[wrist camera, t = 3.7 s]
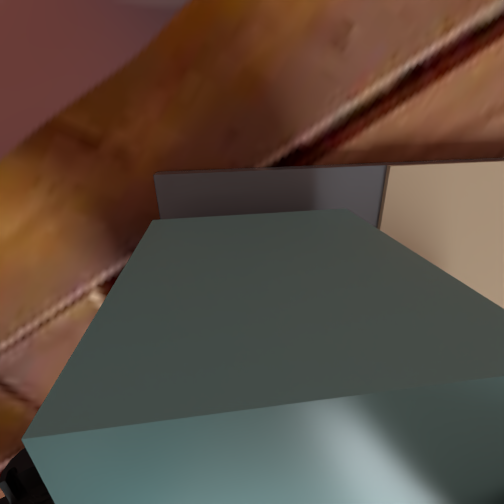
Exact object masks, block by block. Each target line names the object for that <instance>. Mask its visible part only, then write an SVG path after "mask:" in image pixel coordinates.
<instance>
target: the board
mask: <svg viewBox="0 0 504 504" xmlns="http://www.w3.org/2000/svg"><path fill="white" fill-rule="evenodd" d="M153 176H154V183H155V189H156V195H157V201H158V208H159V214H160V220H161V219H177V218H194V217H211V216H227V215H244V214H261V213H278V212H294V211H311V210H328V209H345V208H346V209H347V210H349V211H351V212H352V213H354V214H355V215H357V216H358V217H360V218H362V219H363V220H365V221H366V222H368V223H369V224H371V225H373V226H374V227H376V228H377V229H379V230H380V231H382V232H384V233H385V234H387V235H388V236H390V237H391V238H393V239H395V240H396V241H398V242H399V243H401V244H402V245H404V246H406V247H407V248H409V249H410V250H412V251H413V252H415V253H417V254H418V255H420V256H421V257H423V258H425V259H426V260H428V261H429V262H431V263H432V264H434V265H436V266H437V267H439V268H440V269H442V270H443V271H445V272H447V273H448V274H450V275H451V276H453V277H454V278H456V279H458V280H459V281H461V282H462V283H464V284H465V285H467V286H469V287H470V288H472V289H473V290H475V291H476V292H478V293H480V294H481V295H483V296H484V297H486V298H488V299H489V300H491V301H492V302H494V303H495V304H497V305H499V306H500V307H502V308H503V309H504V158H484V159H459V160H435V161H410V162H385V163H361V164H336V165H312V166H287V167H263V168H238V169H213V170H189V171H164V172H156V173H155V174H154V175H153Z"/></svg>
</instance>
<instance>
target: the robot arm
mask: <svg viewBox="0 0 504 504" xmlns="http://www.w3.org/2000/svg"><path fill="white" fill-rule="evenodd" d="M0 488H1V489H2V491H3V493H4V494H5V497H3V498H1V499H0V504H55V503H54V501H53V499H52V497H51V495H50V493H49V492H48V490H47V488H46V486H45V484H44V482H43V480H42V478H41V476H40V474H39V472H38V471H37V469H36V467H35V465H34V463H33V461H32V459H31V457H30V455H29V453H28V451H27V450H26V448H24V449H22V450H21V451H20V452H19V453H18V454H17V455H16V456H15V457H14V458H12V459H11V460H10V462H9V463H8V465H7V466H6V467H5V469H4V470H3V472H2V474H1V477H0Z"/></svg>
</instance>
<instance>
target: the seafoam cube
mask: <svg viewBox="0 0 504 504" xmlns="http://www.w3.org/2000/svg"><path fill="white" fill-rule="evenodd" d="M21 440H22V442H23V444H24V446H25V448H26V450H27V451H28V453H29V455H30V457H31V459H32V461H33V463H34V465H35V467H36V469H37V471H38V472H39V474H40V476H41V478H42V480H43V482H44V484H45V486H46V488H47V490H48V492H49V493H50V495H51V497H52V499H53V501H54V503H55V504H504V309H503V308H502V307H500V306H499V305H497V304H495V303H494V302H492V301H491V300H489V299H488V298H486V297H484V296H483V295H481V294H480V293H478V292H476V291H475V290H473V289H472V288H470V287H469V286H467V285H465V284H464V283H462V282H461V281H459V280H458V279H456V278H454V277H453V276H451V275H450V274H448V273H447V272H445V271H443V270H442V269H440V268H439V267H437V266H436V265H434V264H432V263H431V262H429V261H428V260H426V259H425V258H423V257H421V256H420V255H418V254H417V253H415V252H413V251H412V250H410V249H409V248H407V247H406V246H404V245H402V244H401V243H399V242H398V241H396V240H395V239H393V238H391V237H390V236H388V235H387V234H385V233H384V232H382V231H380V230H379V229H377V228H376V227H374V226H373V225H371V224H369V223H368V222H366V221H365V220H363V219H362V218H360V217H358V216H357V215H355V214H354V213H352V212H351V211H349V210H347V209H346V208H345V209H328V210H311V211H294V212H278V213H261V214H244V215H227V216H211V217H194V218H177V219H161V220H152V222H151V224H150V225H149V227H148V229H147V230H146V232H145V234H144V235H143V237H142V239H141V240H140V242H139V244H138V245H137V247H136V249H135V250H134V252H133V254H132V255H131V257H130V259H129V260H128V262H127V264H126V265H125V267H124V269H123V270H122V272H121V274H120V275H119V277H118V279H117V280H116V282H115V284H114V285H113V287H112V289H111V290H110V292H109V294H108V295H107V297H106V299H105V300H104V302H103V304H102V305H101V307H100V309H99V310H98V312H97V314H96V315H95V317H94V319H93V320H92V322H91V324H90V325H89V327H88V329H87V330H86V332H85V334H84V335H83V337H82V339H81V340H80V342H79V344H78V345H77V347H76V349H75V350H74V352H73V354H72V355H71V357H70V359H69V360H68V362H67V364H66V365H65V367H64V369H63V370H62V372H61V374H60V375H59V377H58V379H57V380H56V382H55V384H54V385H53V387H52V389H51V390H50V392H49V394H48V395H47V397H46V399H45V400H44V402H43V404H42V405H41V407H40V409H39V410H38V412H37V414H36V415H35V417H34V419H33V420H32V422H31V424H30V425H29V427H28V429H27V430H26V432H25V434H24V435H23V437H22V439H21Z"/></svg>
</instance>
